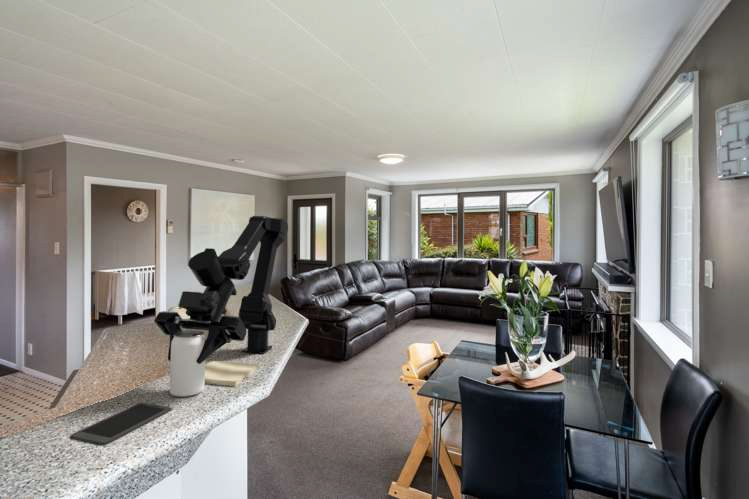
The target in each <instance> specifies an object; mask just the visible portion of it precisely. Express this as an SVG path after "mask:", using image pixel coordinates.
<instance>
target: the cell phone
mask: <svg viewBox="0 0 749 499" xmlns="http://www.w3.org/2000/svg"><path fill="white" fill-rule="evenodd" d="M171 411H173V408H172V407H171V406H165V405H159V404H155V403H148V402H138V403H136V404H133V405H132V406H129V407H128V408H125V409H123V410H121V411H119V412H117V413H115V414H112V415H110V416H108V417H106V418H103V419H101V420H100V421H97V422H95V423H92V424H91V425H89V426H86V427H84V428H82V429H79V430H78V431H75V432H73V433H72V434H71V435H70V439H72V440H75V439H76V440H75V441H80V442H81V441H82V442H85V443H89V444H94V445H99V446H107V445H109V444H111V443H113V442H115V441H117V440H119V439H121V438H123V437H124V436H126V435H128V434H131V433H133V432H134V431H136V430H138V429H140V428H142V427H143V426H145V425H147V424H149V423H151V422H153V421H154V420H157V419H158V418H161V417H163V416H164V415H166V414H168V413H170V412H171Z"/></svg>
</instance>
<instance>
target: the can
mask: <svg viewBox="0 0 749 499" xmlns="http://www.w3.org/2000/svg"><path fill="white" fill-rule="evenodd" d="M204 334H205V333H204V332H203V330H195V329H190V330H185V331H181V332H177V333H175V334H174V338H173V340H172V342H171V361H169V364H170V366H169V370H170V371H169V393H170V395H171V396H174V397H177V398H188V397H193V396H197V395H199V394H201V393H202V392H203V391H204V389H205V383H204V381H205V365H206V359H205V360H204V361H203V362H202V363H201V364H198V363H197V359H198V357H199V355H200V353H201V351H202V349H203V346H204V343H205V341H206V337H205V335H204Z"/></svg>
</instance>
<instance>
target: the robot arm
mask: <svg viewBox="0 0 749 499" xmlns="http://www.w3.org/2000/svg"><path fill="white" fill-rule="evenodd" d="M288 230H289V225H288V222H287V221H286V220H285V219H284V218H283V217H270V216H269V217H268V216H266V215H253V216H250V217H249V219H248V224H247V225H246V226H245V227H244V229H243V231H242V233H241V234H240V235H239V237H238V238H237V239H236V241H235V243H234V244H233V245H232V246H231V247H230V248H228V249H226V250H224V251H222V252H221V253H220V254H219V255H217V251H216V249H215V248H207V247H206V248H205V249H204V251H201V252H198V253H196V254H195V255H194V256H191V257H190V259H189V260H188V264H187V265H188V267H189V269H190V271H191V272H192V274H193V276H194V277H195V279H196V280H197V281H198V283H199V285H201V286H203V287H205V289H204V290H203V292H199V291H185V290H184V291H182V292H181V295H180V299H179V301H178V305H177V306H178V307H179V308H183V309H184V310H185V311H184V312H185V314H186V316H188V317H189V318H188V319H187V318H182V316H181V315H180V314H179V313H178V312H177V311H164V310H163V311H159V312H158V313H157V314H156V316H155V318H154V320H153V322H154V323H155V324H156V325H157V326H158V328H159V329H160V330H161V332H162V333H163V334H164V335H167V336H169V346H168V355H167V360H168V361H169V362H170V361H171V342H172V340H173V338H174V334H175V333H177V332H181V331H187V329H188V330H194V331H208V333H207V337H206V338H205V340H206V341H205V343H204V346H203V349H202V351H201V353H200V355H199V357H198V359H197V363H198V364H201V363H202V362H203V361H204V360H205V361H206V360H207V359H208V358H209V357H210V356H212V354H213V353H215V352H216V351H217V350H219V349H220V348H222V347H223V346H225V345H226V344H230V343H231V341H237V342H243V341H244V340H245V338H246V335H247V338H246V340H247V341H246V342H247V343H246V344H247V345H246V347H244V348H243V349H242V350H241V352H243V353H253V354H265V353H267V352H268V351H270V350H271V349H272V348H273V345H269V332H270V331H274V330H275V329H276V327H277V319H276V317H275V314H274V313H273V311H272V310H273V304H272V302H271V299H270V297H269V292H270V287H271V283H272V278H273V272H274V266H275V261H276V257H277V251H278V248H279V247H280V246H281V245H282V244H283V242H284V241H285V240H286V236H287V233H288V232H289V231H288ZM259 243H260V246H259V250H258V251H259V252H258V255H257V256H258V257H257V260H256V265H255V270H254V276H253V280H252V284H251V290H250V292H249V293H248V294H247V295H244V296H242V298H241V301H240V302H241V304H240V307H239V309H238V310H239V311H238V316H234V315H226V314H227V312H228V310H227V309H226V306H227V305H228V302H229V299H230V298H231V296H237V289H236V287H235V286H236V285H235V284H234V282H233V280H236V281H237V280H238V281H241V280H244V279H245V278H246V277H247V275H249V274H248V273H249V270H250V268H251V262H250V258H251V257H252V254H253V253H254V251H255V250H256V248H257V246H258V244H259Z"/></svg>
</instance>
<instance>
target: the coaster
mask: <svg viewBox="0 0 749 499" xmlns="http://www.w3.org/2000/svg"><path fill="white" fill-rule="evenodd" d="M259 369H260V364H257V363H256V364H255V363H254V364H253V363H245V362H244V363H243V362H232V361H221V360H212V361H209V363H207V364H206V363H205V381H204V384H206V385H207V384H208V385H219V386H228V387H229V386H230V387H237V386H238V385H239V384H240V383H242V382H243V381H245V380H246V379H248V378H249V377H250V376H251V375H253V374H254V373H255V372H257V371H258V370H259ZM248 376H249V377H248ZM244 379H245V380H244Z"/></svg>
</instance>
